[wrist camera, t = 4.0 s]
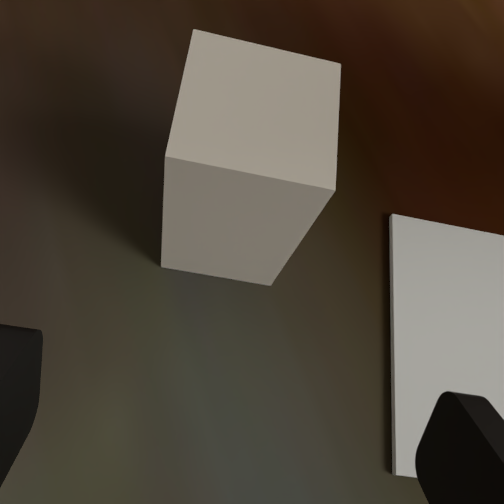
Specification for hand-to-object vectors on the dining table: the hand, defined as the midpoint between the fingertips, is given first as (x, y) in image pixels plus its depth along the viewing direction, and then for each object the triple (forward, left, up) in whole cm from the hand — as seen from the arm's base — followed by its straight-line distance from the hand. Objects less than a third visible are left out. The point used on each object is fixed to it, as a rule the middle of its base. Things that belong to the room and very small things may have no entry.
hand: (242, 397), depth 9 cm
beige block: (-7, -8, -14) cm, 17 cm away
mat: (-17, +6, -14) cm, 22 cm away
